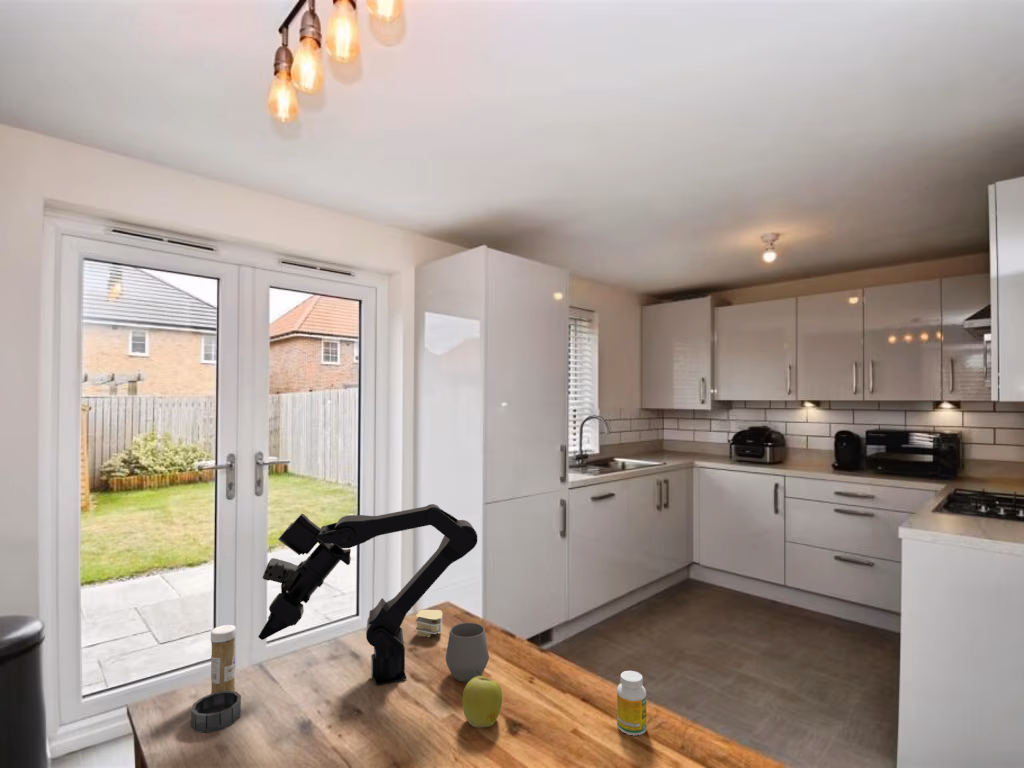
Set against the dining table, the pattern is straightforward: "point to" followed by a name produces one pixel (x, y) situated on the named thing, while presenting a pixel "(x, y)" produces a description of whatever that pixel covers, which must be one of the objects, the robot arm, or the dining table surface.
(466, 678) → the cup
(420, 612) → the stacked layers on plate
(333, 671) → the dining table surface
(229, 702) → the bottle holder
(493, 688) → the apple
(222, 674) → the sprinkles bottle
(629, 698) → the supplement bottle
